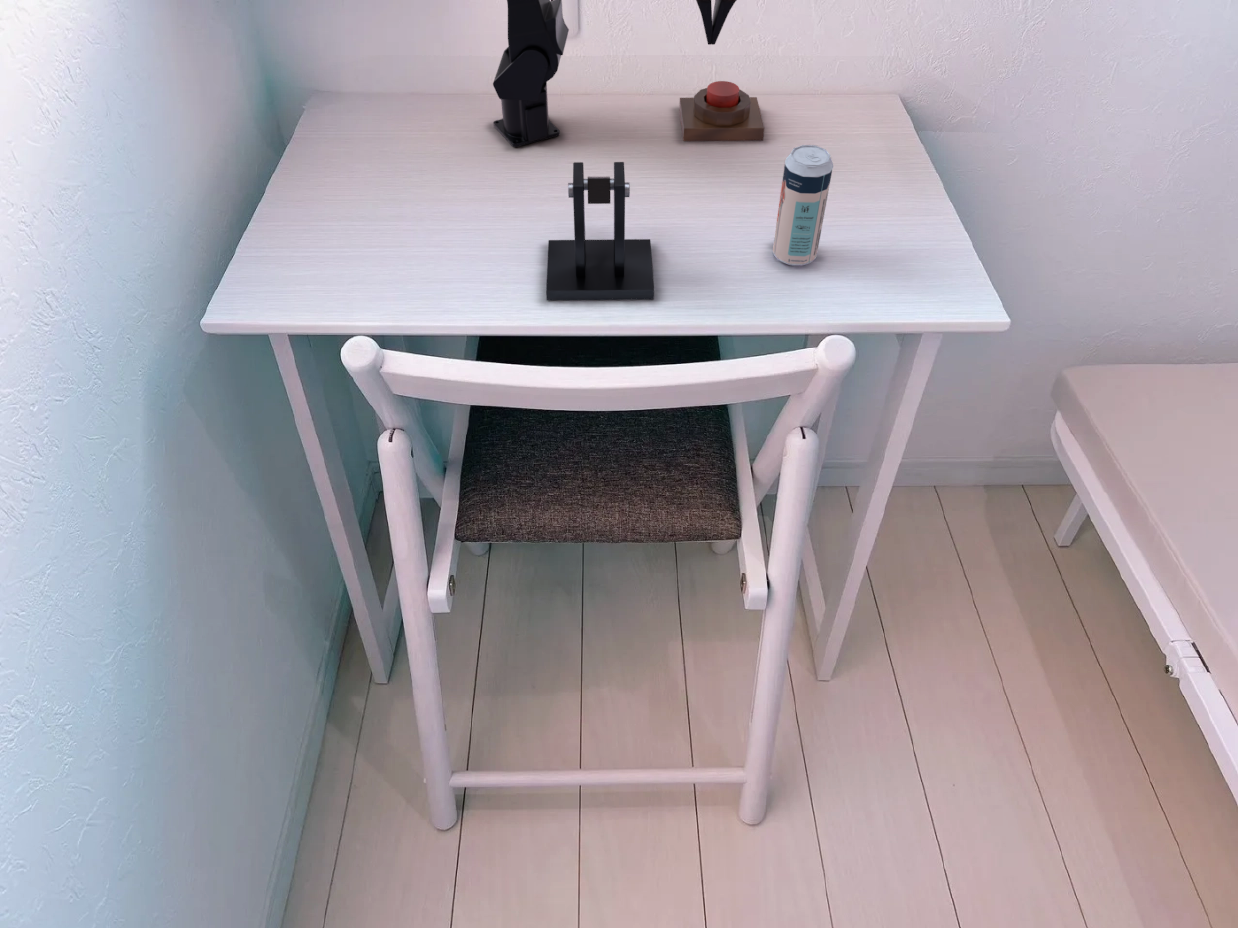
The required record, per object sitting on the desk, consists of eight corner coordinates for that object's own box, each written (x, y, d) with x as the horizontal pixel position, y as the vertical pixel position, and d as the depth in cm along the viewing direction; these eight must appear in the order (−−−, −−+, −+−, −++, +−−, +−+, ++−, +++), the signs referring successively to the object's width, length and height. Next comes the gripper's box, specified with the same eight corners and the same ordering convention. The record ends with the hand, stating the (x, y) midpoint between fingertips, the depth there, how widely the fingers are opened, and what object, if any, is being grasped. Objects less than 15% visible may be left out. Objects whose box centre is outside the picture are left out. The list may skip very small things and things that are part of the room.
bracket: (549, 249, 107) (543, 150, 98) (650, 248, 107) (653, 149, 98) (546, 300, 100) (540, 199, 92) (653, 299, 101) (657, 198, 92)
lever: (575, 196, 106) (575, 172, 105) (622, 195, 106) (621, 172, 105) (573, 204, 95) (572, 178, 94) (624, 203, 95) (624, 178, 95)
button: (707, 109, 121) (708, 96, 120) (704, 94, 124) (705, 81, 123) (739, 109, 122) (741, 96, 120) (736, 94, 124) (737, 80, 123)
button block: (683, 141, 122) (684, 114, 120) (679, 110, 128) (680, 84, 125) (762, 140, 122) (766, 114, 120) (755, 109, 128) (758, 83, 125)
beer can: (797, 238, 108) (813, 138, 99) (825, 260, 105) (845, 158, 97) (762, 252, 106) (776, 151, 98) (791, 274, 104) (807, 172, 95)
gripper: (637, -77, 97) (634, 76, 108) (825, -78, 97) (801, 75, 109) (632, -115, 104) (629, 32, 116) (806, -115, 105) (786, 31, 116)
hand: (710, 43), depth 114 cm, fingers closed
